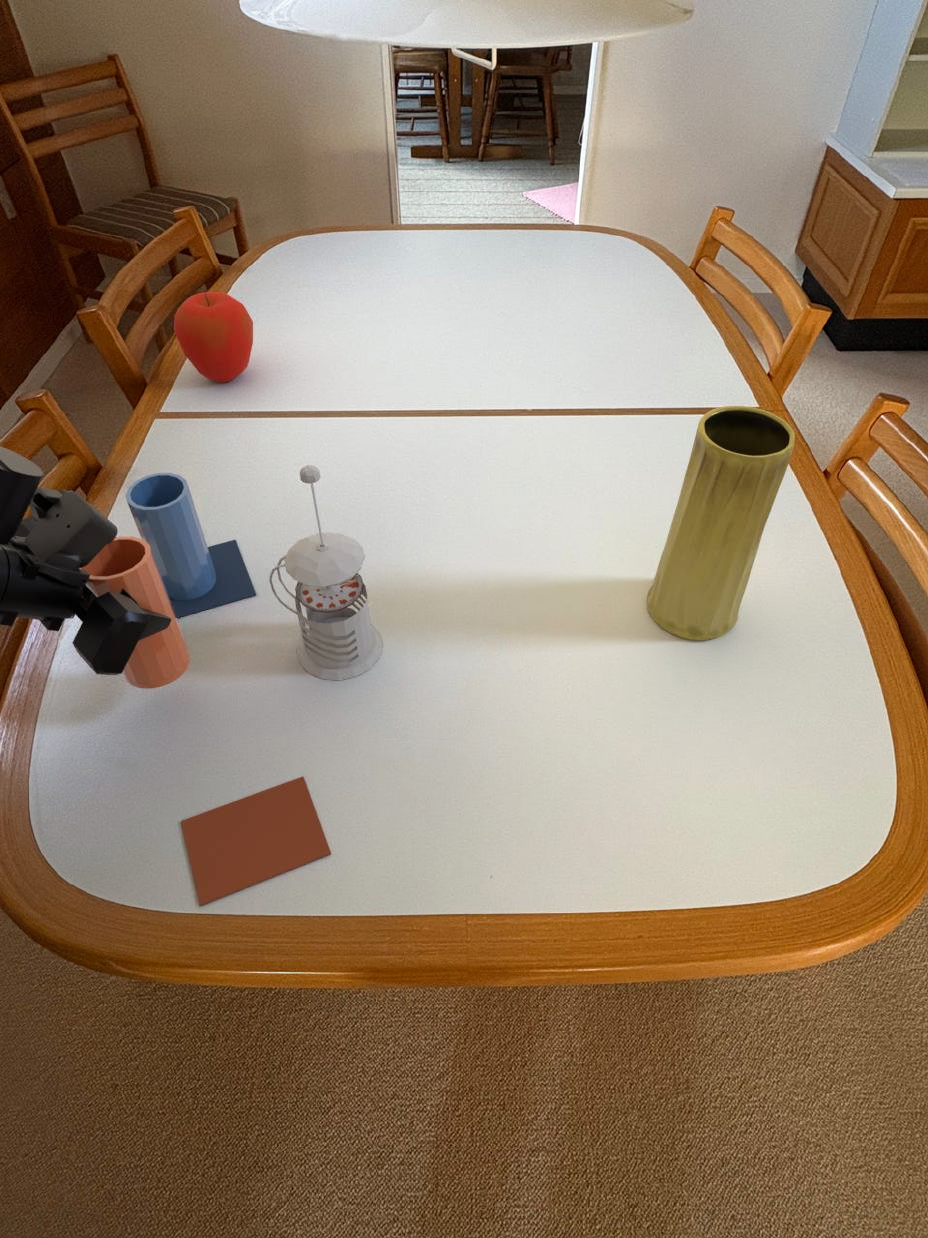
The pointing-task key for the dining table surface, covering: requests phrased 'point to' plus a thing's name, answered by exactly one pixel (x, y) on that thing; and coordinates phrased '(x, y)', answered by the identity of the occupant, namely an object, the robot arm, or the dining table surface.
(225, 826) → the clay pad
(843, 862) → the dining table surface
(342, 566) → the french press
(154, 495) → the blue tumbler
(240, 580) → the blue pad
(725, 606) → the vase
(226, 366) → the apple
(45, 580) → the robot arm
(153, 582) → the terracotta tumbler
